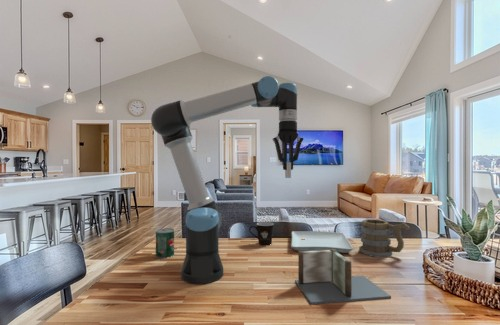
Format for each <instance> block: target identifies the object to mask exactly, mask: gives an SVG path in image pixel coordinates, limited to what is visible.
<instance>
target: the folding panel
mask: <svg viewBox="0 0 500 325" xmlns="http://www.w3.org/2000/svg"><path fill="white" fill-rule="evenodd" d="M351 276H352V261H351V260H350V259H348V258H346V257H345V256H343V255H342V254H341V253H338V252H333V283H334V284H335V285H336V286H337V287H338V288H339V289H340V290H341V291H342V292H343V293H344V294H345V295H346V296H348V297H351V296H352V286H351Z"/></svg>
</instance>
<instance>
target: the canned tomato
mask: <svg viewBox="0 0 500 325" xmlns="http://www.w3.org/2000/svg"><path fill="white" fill-rule="evenodd" d="M173 255H174V256H175V229H174V228H167V227H166V228H158V229H156V230H155V258H157V257H158V258H157V259H168V258H167V257H169V258H172V257H174V256H173ZM171 256H172V257H171Z"/></svg>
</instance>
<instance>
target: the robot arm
mask: <svg viewBox="0 0 500 325" xmlns="http://www.w3.org/2000/svg"><path fill="white" fill-rule="evenodd" d="M297 89H298V88H297V85H296V84H295V83H293V82H282V83H280V84H279V82H278V80H277V79H276V78H275V77H274V76H272V75H266V76H263V77H262V78H260V79H259V80H258V81H254V82H252V83H248V84H245V85H242V86H241V85H240V86H237V87H233V88H229V89H227V90H224V91H220V92H216V93H213V94H209V95H206V96H202V97H198V98H194V99H192V100H188V101H184V100H182V99H181V100H177V101H173V102H169V103H166V104H163V105H160V106H158V107H157V108H156V109H155V110H154V111H153V112H152V115H151V118H150V122H151V126H152V129H153V130H154V131H155V132H156V133H157V134H158V135H160V136H161V138H162V141H163V144H164V146H165V148H168V149H170V153H171V156H172V158H173V160H174V161H173V162H174V164H175V167H176V170H177V172H178V175H179V178H180V182H181V184H182V187H183V190H184V193H185V196H186V198H187V201H188V206H187V209H186V210H187V213H186V214H185V221H184V222H185V256H184V259H183V263H182V266H181V270H180V278H181V280H182V281H184V282H186V283H189V284H197V285H199V284H201V285H202V284H208V283H213V282H215V281H218V280H220V279H221V278H222V277H223V276H224V266H223V262H222V260H221V257H220V253H219V252H220V251H219V231H220V228H221V226H222V222H223V221H222V220H223V219H222V218H223V217H222V214H221V212H220V209H218V207H217V204H216V201H215V199H214V198H212V197H211V196H210V194H209V192H208V190H207V186H206V184H205V181H204V178H203V175H202V172H201V170H200V166H199V163H198V161H197V157H196V155H195V152H194V148H193V146H192V143H191V142H192V140H193V135H192V132H191V129H190V128H191V127H190V126H191V124H192V123H193V122H197V121H200V120H201V121H202V120H204V119H208V118H211V117H215V116H219V115H222V114H224V113H228V112H232V111H235V110H239V109H242V108H245V107H249V106H250V107H253V108H278V132H277V135H276V136H275V137H273V138H272V141H273V143H274V145H275V150H276V154H277V158H278V161H279V162H282V170H284V174H285V175H284V177H285V178H286V179H292V171H293V170H294V162H296V161H298V159H299V155H300V150H301V146H302V143H303V140H304V138H303V137H301V136H299V133H298V122H297V120H298V106H297V105H298V90H297ZM280 141H281V143H282V150H281V145H280ZM295 141H296V146H295V149H294V143H295ZM287 161H289V162H287Z"/></svg>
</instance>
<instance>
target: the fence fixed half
mask: <svg viewBox="0 0 500 325" xmlns="http://www.w3.org/2000/svg"><path fill="white" fill-rule="evenodd" d="M333 252H336V250H335V249H330V250H319V251H297V254H298V256H297V258H298V261H297V263H298V275H297V276H298V279H297V280H298V283H299V284H304V283H312V282H327V281H331V282H333Z"/></svg>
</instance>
